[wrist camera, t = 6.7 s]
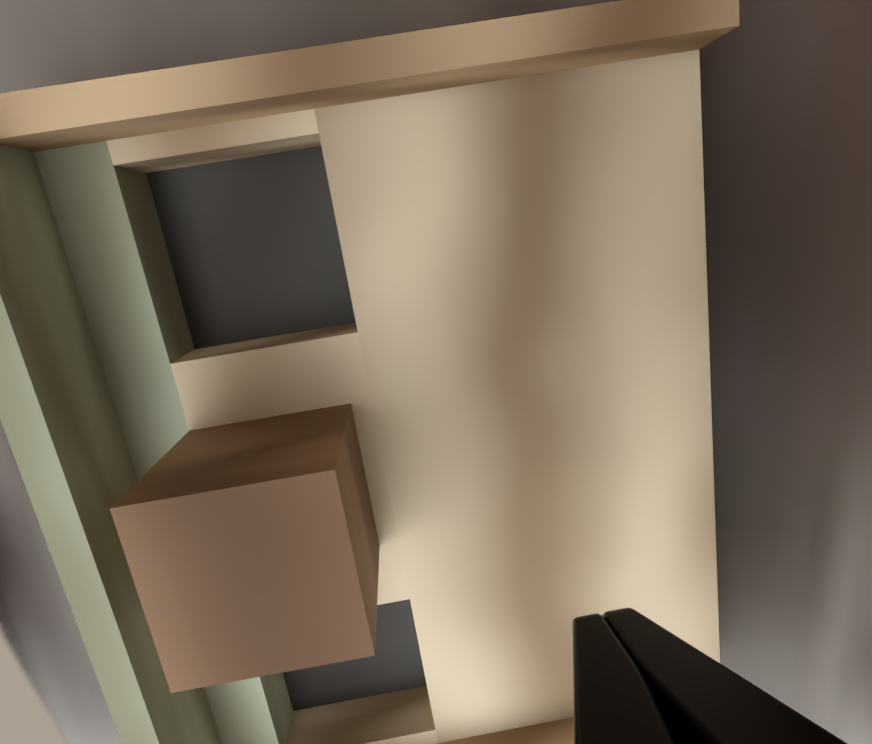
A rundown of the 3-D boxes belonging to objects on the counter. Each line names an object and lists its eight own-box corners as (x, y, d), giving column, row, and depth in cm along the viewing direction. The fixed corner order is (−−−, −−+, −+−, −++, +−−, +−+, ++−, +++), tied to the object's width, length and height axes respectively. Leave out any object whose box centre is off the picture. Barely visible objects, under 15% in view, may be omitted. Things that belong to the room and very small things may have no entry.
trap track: (656, 41, 14) (772, -42, 10) (688, 660, 19) (775, 787, 15) (40, 136, 14) (-123, 91, 9) (232, 747, 18) (182, 906, 14)
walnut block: (351, 403, 14) (335, 469, 10) (379, 545, 15) (374, 655, 11) (189, 430, 14) (109, 508, 10) (229, 572, 15) (171, 692, 11)
